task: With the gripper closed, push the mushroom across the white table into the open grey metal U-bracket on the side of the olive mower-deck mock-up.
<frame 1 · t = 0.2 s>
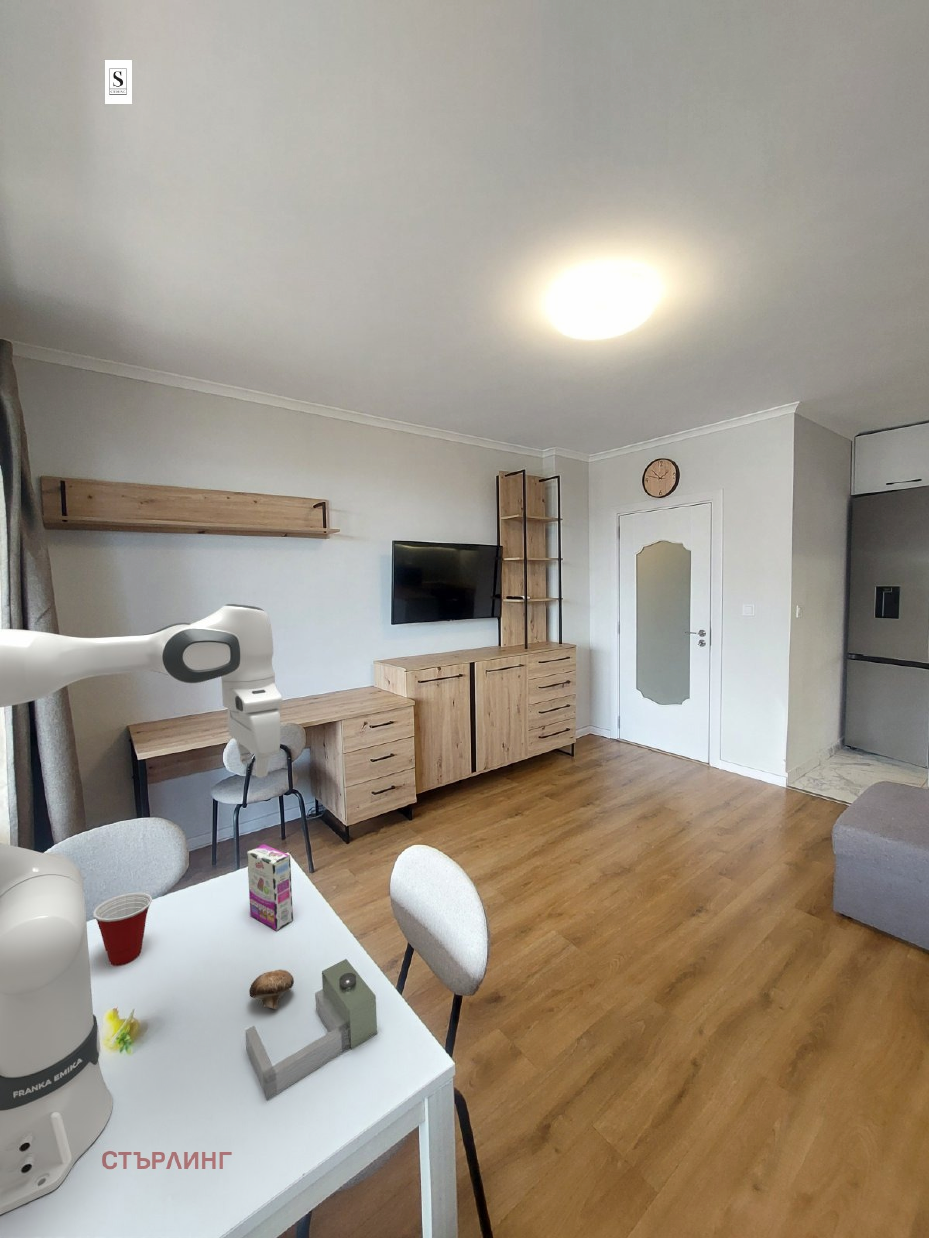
hand: (253, 769, 91), 47 cm above the table, fingers open, 8 cm apart
mushroom: (272, 1001, 98), on the table
plastic cup: (126, 956, 112), on the table
candy bar box: (271, 918, 123), on the table
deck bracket: (296, 1045, 88), on the table
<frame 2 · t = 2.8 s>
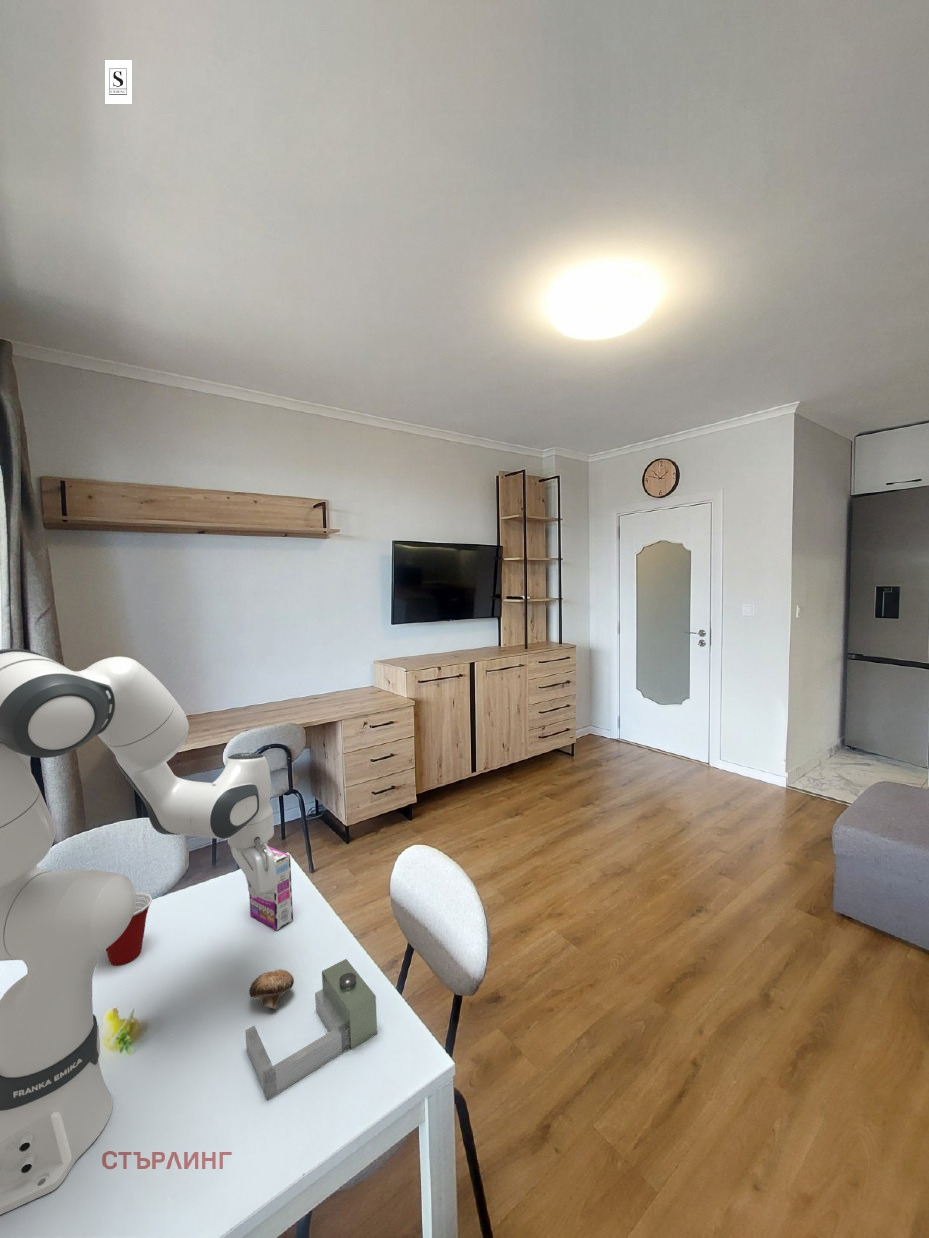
hand: (254, 894, 105), 17 cm above the table, fingers closed
nothing on the table moved.
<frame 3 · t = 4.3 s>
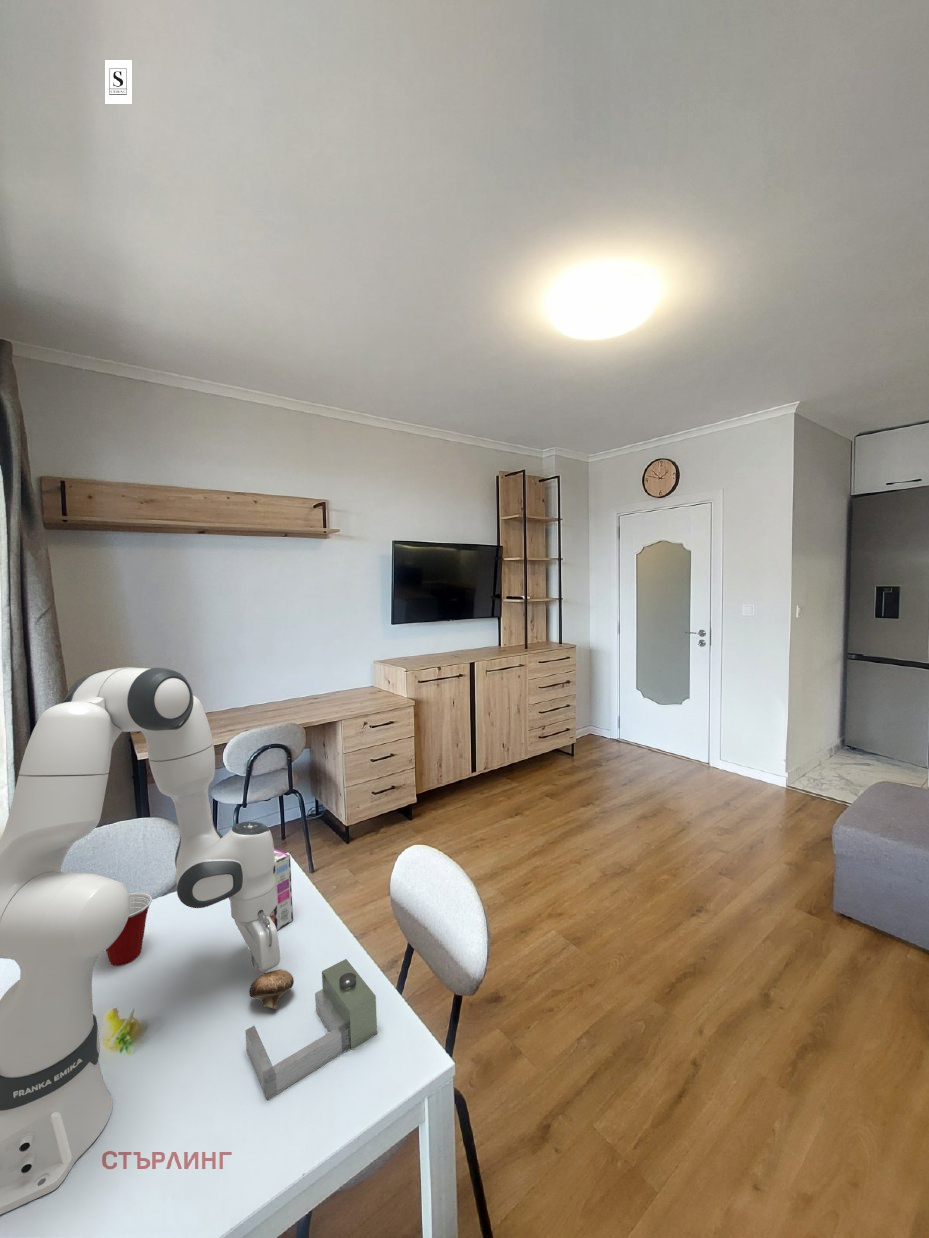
hand: (257, 964, 105), 2 cm above the table, fingers closed
nothing on the table moved.
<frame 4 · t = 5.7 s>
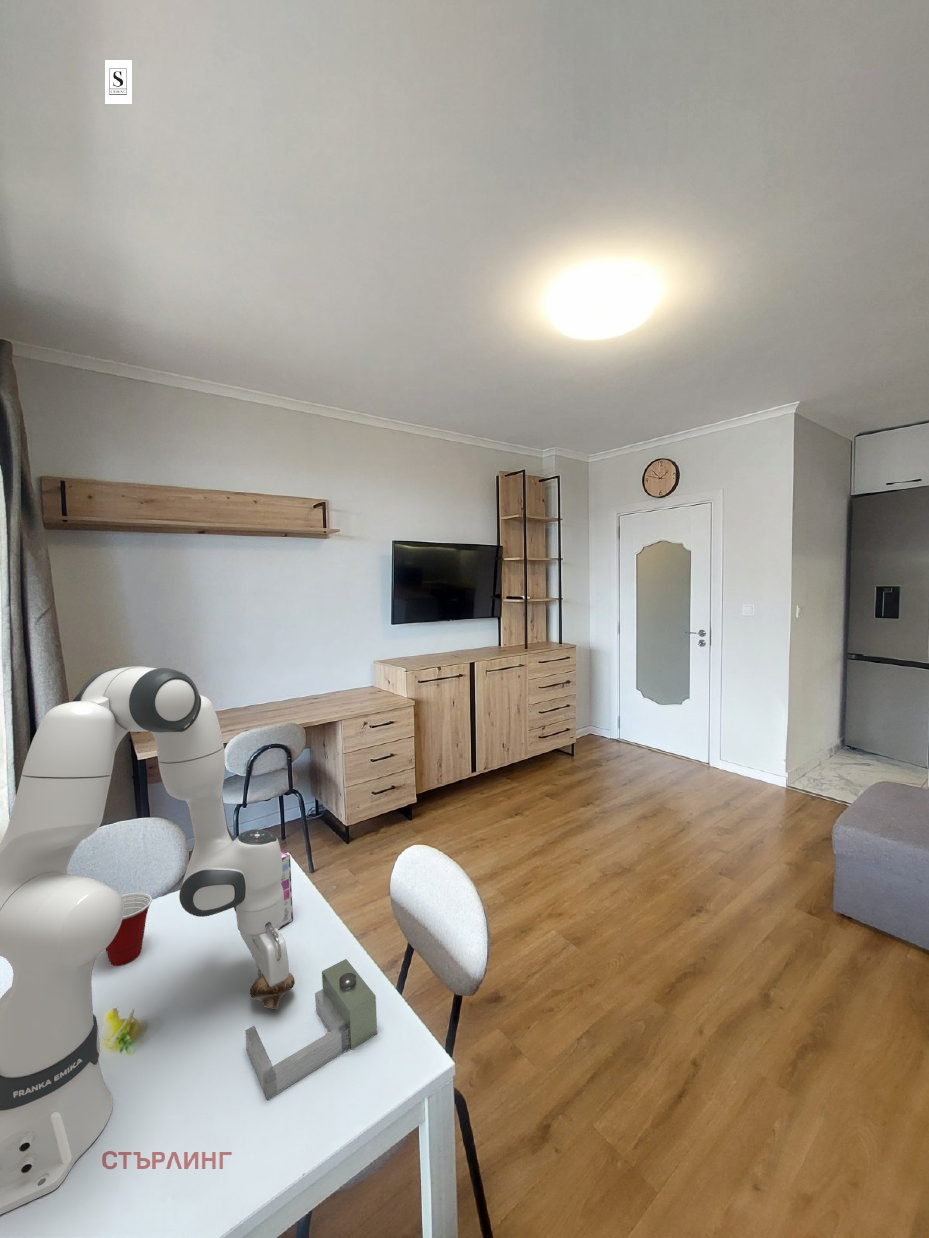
hand: (264, 978, 101), 2 cm above the table, fingers closed
mushroom: (273, 1002, 98), on the table, touching gripper
everything else where it was.
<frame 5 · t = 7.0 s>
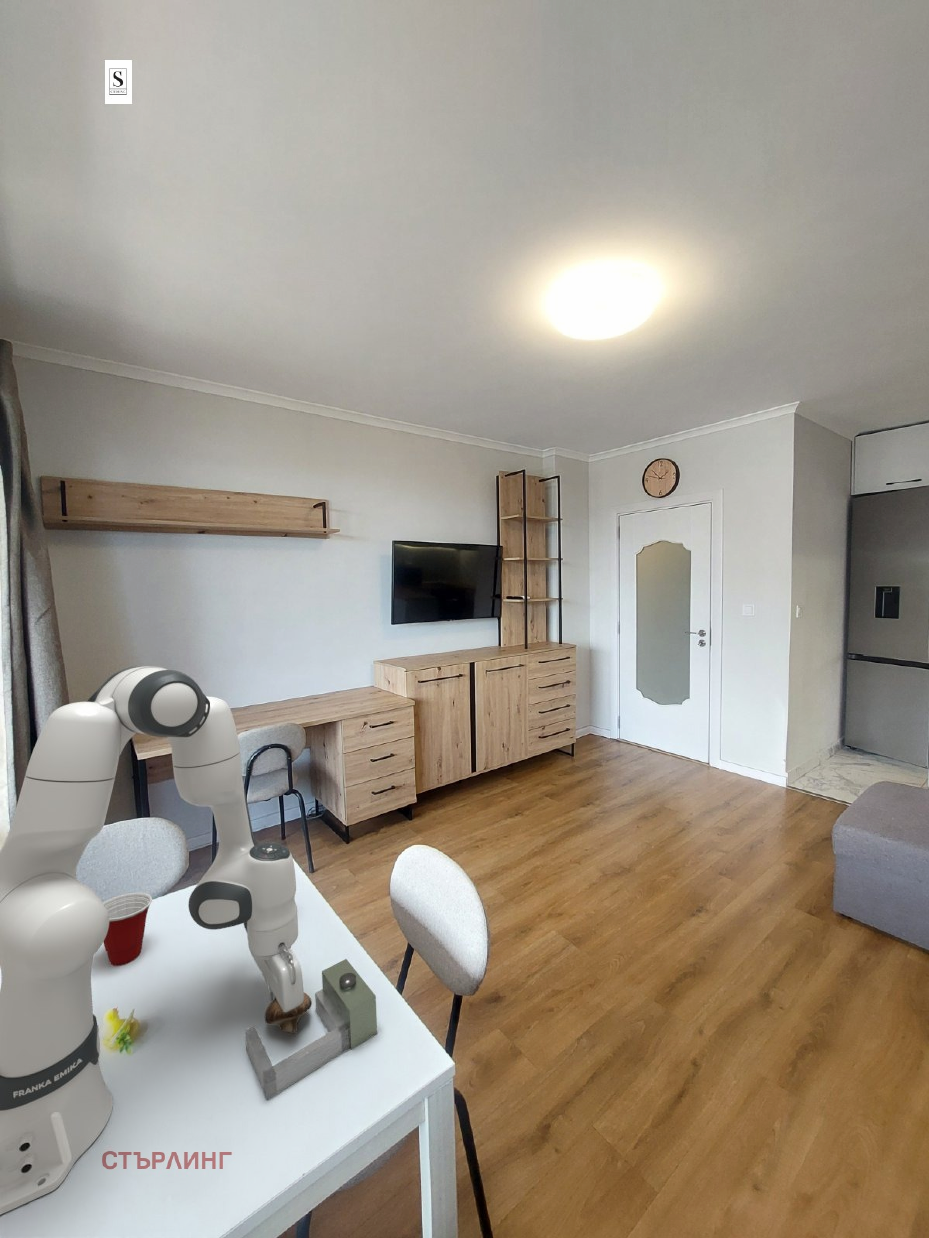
hand: (276, 1001, 96), 2 cm above the table, fingers closed
mushroom: (289, 1025, 92), on the table, touching gripper
everything else where it was.
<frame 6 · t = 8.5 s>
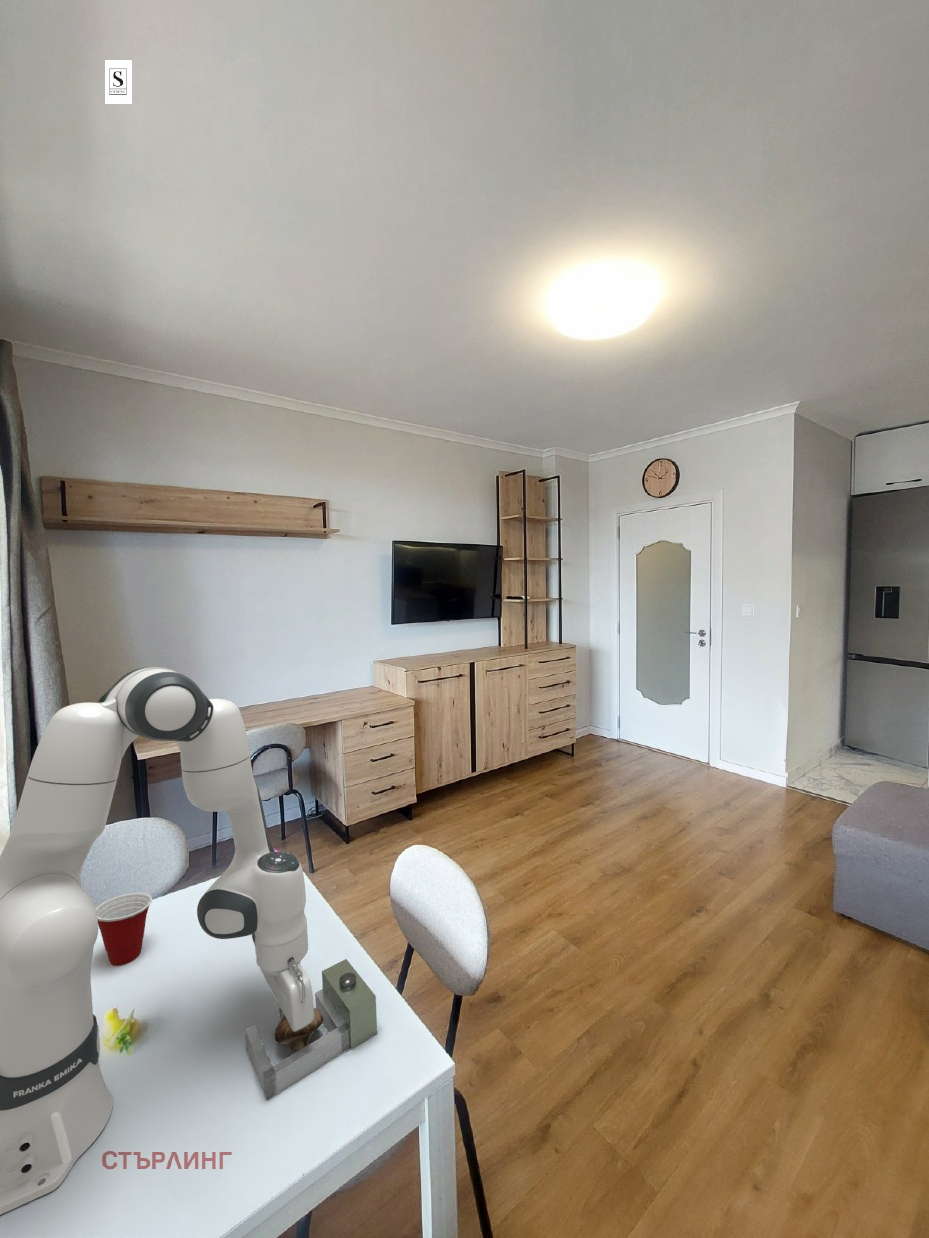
hand: (286, 1018, 92), 2 cm above the table, fingers closed
mushroom: (299, 1043, 88), on the table, touching gripper
everything else where it was.
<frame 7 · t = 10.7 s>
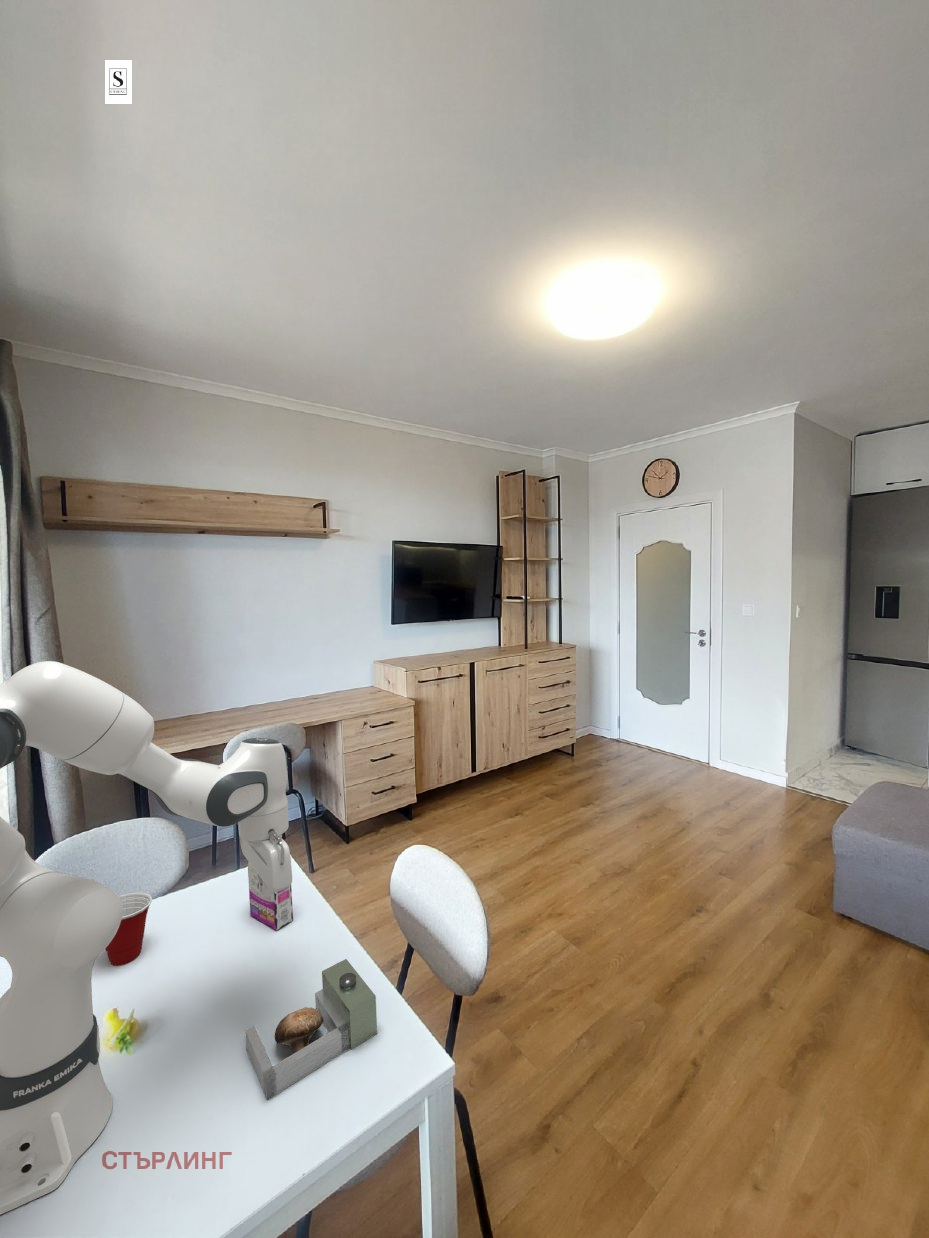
hand: (266, 893, 96), 22 cm above the table, fingers closed
mushroom: (299, 1044, 88), on the table
everything else where it was.
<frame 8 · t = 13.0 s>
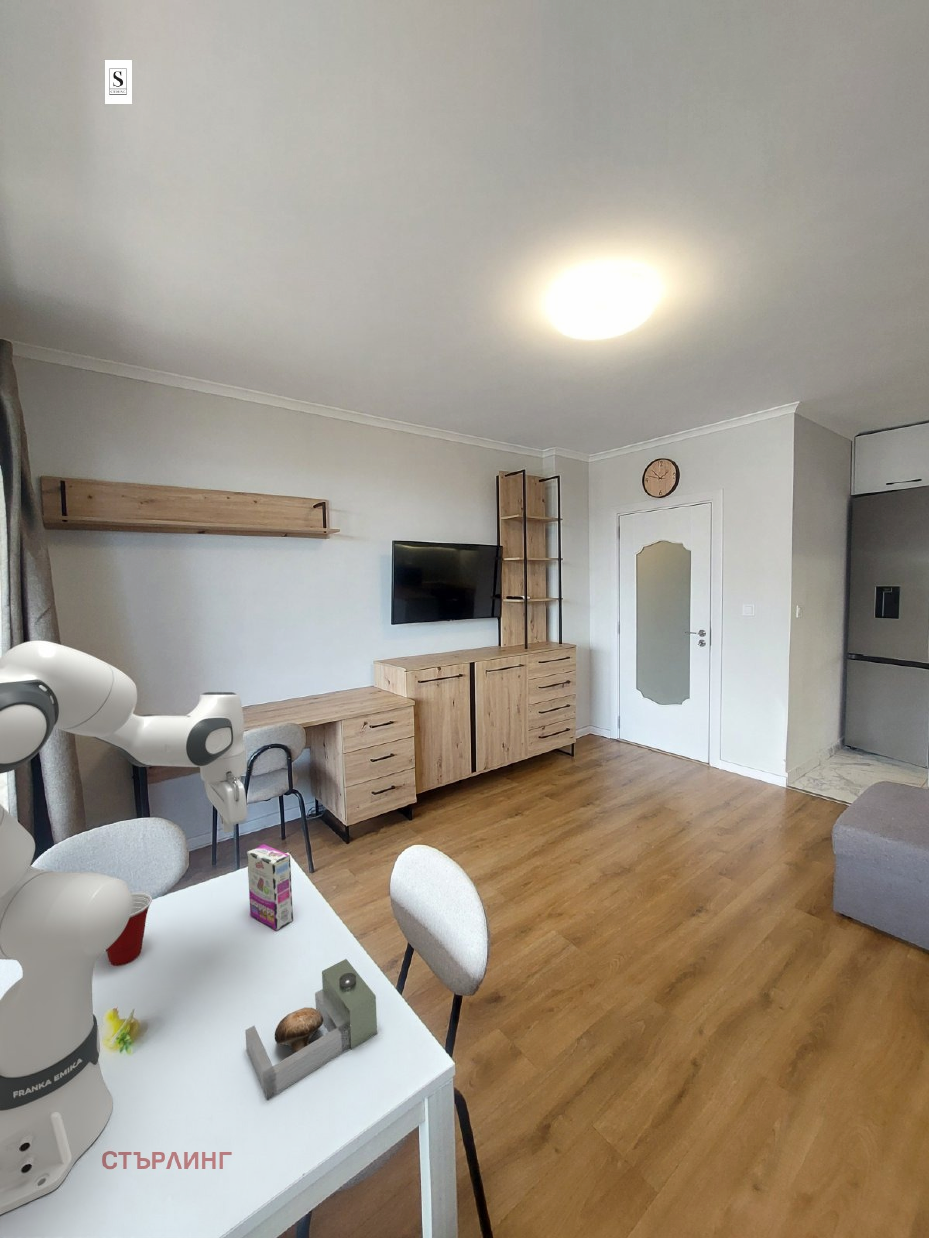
hand: (227, 830, 107), 29 cm above the table, fingers closed
nothing on the table moved.
at the end: mushroom inside the target area on the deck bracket (1.6 cm from its centre), point 0.0 cm above the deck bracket's base; mushroom tilted 0° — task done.
